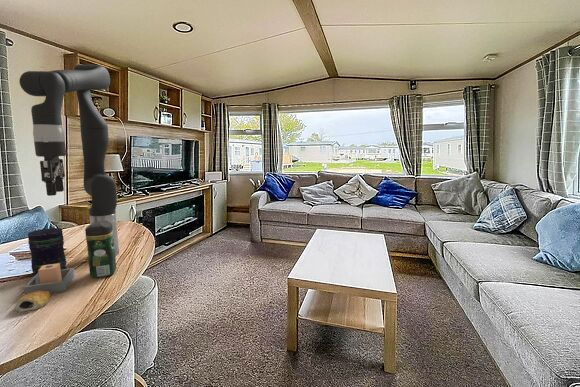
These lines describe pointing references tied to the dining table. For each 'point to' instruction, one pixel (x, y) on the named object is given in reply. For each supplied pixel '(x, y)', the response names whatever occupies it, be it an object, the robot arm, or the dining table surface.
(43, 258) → the storage jar
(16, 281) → the dining table surface
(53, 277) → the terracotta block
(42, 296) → the pastry
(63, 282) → the charcoal tray
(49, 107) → the robot arm
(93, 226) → the coffee jar
